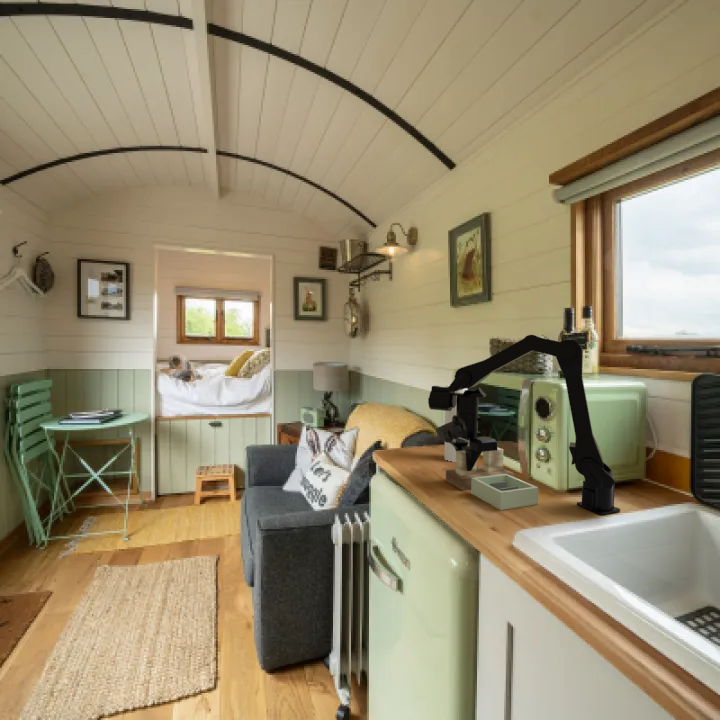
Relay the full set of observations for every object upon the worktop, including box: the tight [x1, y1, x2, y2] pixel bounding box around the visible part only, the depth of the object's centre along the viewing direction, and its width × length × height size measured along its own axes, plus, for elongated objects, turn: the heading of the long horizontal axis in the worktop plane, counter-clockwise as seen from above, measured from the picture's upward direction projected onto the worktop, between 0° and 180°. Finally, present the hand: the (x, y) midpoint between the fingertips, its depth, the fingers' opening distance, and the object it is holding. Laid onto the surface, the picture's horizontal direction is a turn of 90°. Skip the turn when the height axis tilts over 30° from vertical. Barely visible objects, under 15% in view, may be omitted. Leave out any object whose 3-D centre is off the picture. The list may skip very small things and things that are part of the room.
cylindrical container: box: [443, 384, 469, 463], centre depth 131 cm, size 7×7×25 cm
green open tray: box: [470, 474, 539, 511], centre depth 96 cm, size 11×11×4 cm
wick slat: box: [482, 447, 504, 473], centre depth 110 cm, size 5×2×9 cm, turn 110°
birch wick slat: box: [455, 450, 478, 476], centre depth 106 cm, size 5×2×9 cm, turn 110°
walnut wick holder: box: [445, 465, 515, 491], centre depth 108 cm, size 17×8×3 cm, turn 110°
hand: (466, 469), depth 106 cm, fingers closed on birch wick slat, 2 cm apart
